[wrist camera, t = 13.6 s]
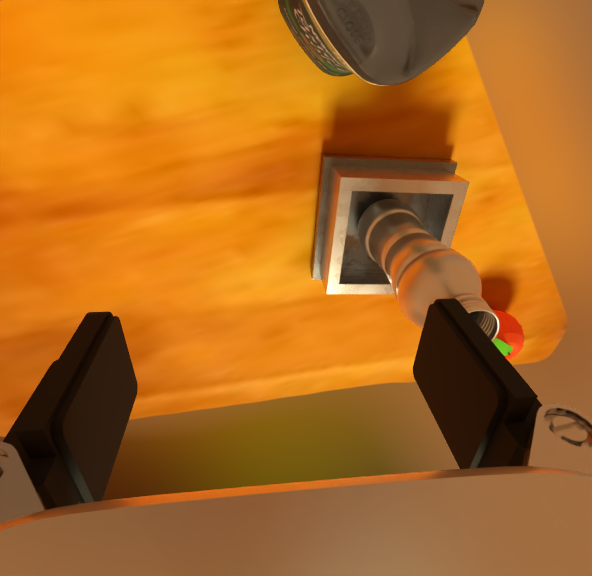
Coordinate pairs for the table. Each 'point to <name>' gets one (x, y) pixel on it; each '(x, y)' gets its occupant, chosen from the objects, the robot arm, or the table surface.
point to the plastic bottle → (421, 265)
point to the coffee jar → (378, 34)
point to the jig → (364, 192)
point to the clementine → (508, 335)
